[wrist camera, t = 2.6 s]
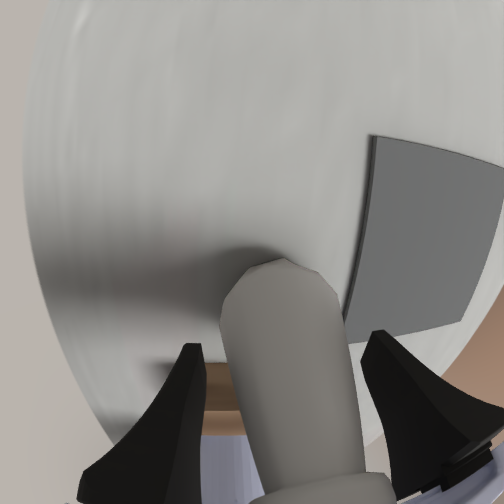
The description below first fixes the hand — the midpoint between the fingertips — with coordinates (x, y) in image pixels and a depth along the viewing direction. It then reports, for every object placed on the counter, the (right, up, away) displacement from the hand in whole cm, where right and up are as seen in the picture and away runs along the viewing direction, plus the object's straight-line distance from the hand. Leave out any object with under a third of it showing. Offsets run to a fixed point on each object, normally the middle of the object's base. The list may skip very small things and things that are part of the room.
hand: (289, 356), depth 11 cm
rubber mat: (+10, +4, +4) cm, 12 cm away
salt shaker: (0, +2, +4) cm, 5 cm away
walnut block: (-4, -5, +8) cm, 10 cm away
